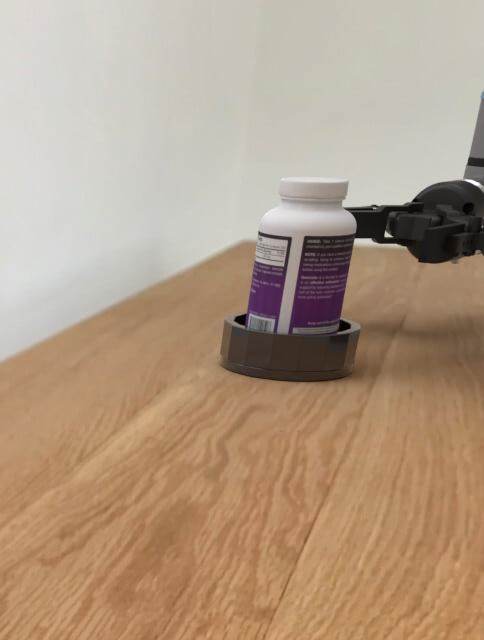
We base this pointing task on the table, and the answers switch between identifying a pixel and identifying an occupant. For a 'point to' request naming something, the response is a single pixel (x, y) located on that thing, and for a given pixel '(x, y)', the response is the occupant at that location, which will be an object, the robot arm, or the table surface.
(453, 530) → the table surface
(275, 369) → the ring
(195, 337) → the table surface
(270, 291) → the pill bottle
